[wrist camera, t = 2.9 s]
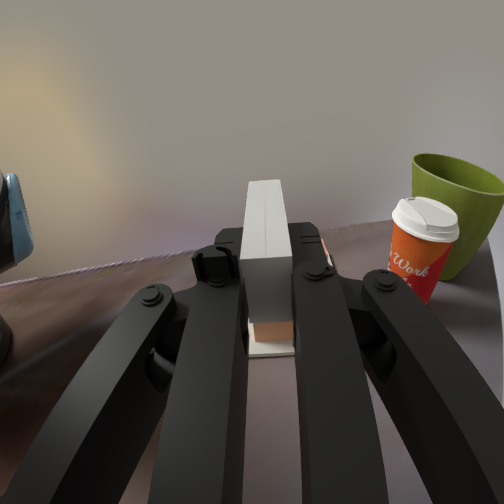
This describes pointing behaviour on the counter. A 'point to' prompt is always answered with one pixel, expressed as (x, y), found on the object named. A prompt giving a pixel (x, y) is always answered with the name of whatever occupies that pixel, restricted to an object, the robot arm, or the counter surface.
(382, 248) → the counter surface
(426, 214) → the paper cup
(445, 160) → the flower pot
